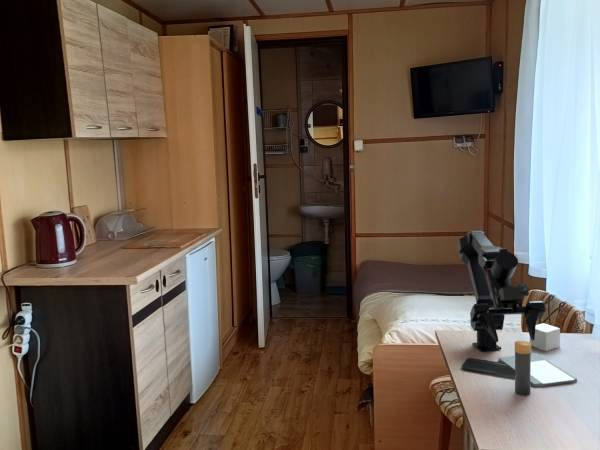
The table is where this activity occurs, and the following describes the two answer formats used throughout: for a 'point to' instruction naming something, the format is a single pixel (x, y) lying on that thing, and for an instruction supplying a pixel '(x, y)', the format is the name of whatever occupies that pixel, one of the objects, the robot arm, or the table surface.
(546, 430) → the table surface
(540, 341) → the white cube
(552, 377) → the writing board
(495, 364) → the phone
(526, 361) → the grey cylinder
